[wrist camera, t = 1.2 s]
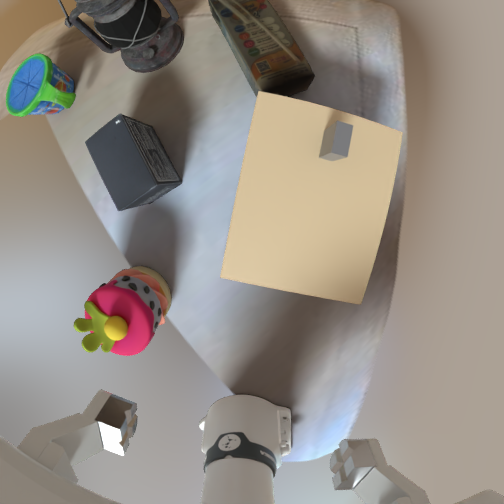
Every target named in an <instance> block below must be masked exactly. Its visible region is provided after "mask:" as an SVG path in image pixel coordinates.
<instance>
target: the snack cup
mask: <svg viewBox="0 0 504 504" xmlns="http://www.w3.org/2000/svg"><path fill="white" fill-rule="evenodd" d="M73 83H74V81H73V80H72V78H71V77H70V76H69V75H68V74H66V73H65V72H64V71H63V70H61V69H60V68H59V67H57V66H56V65H55V64H54V63H52V61H51V59H50V58H49V57H47V56H46V55H43V54H34V55H32V56H30V57H28V58H27V59H26V60H25V61H24V62H23V63H22V64H21V65H20V66H19V67H18V68H17V70H16V71H15V73H14V75H13V76H12V78H11V81H10V83H9V86H8V89H7V94H6V106H7V109H8V111H9V113H10V114H12V115H15V116H21V117H23V116H26V115H28V114H29V115H31V114H56V113H59V112H60V111H61V110H62V109H64V108H66V109H68V108H70V107H71V105H72V104H73V102H74V100H75V97H76V94H75V93H73V90H74V84H73Z"/></svg>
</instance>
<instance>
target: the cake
mask: <svg viewBox="0 0 504 504" xmlns="http://www.w3.org/2000/svg"><path fill="white" fill-rule="evenodd" d="M84 306H85V319H83V318H78V319H76V320H75V322H74V328H75V330H76V331H78V332H87V331H90V332H91V333H90V334H88V335H86V336H85V337H84V338H83V340H82V347H83V348H84V350H85V351H87V352H94V351H96V350H97V349H98V347H99V346H100V344H101V345H102V346H101V348H102V350H103V351H104V352H109V351H111V352H113V353H115V354H119V355H127V356H130V355H135V354H138V353H140V352H141V351H142V350H144V349H145V348H146V346H147V345H148V344H149V342H150V341H151V339H152V337H153V336H154V334H155V333H154V332H155V330H156V329H157V327H158V325H162V324H164V323H165V318H164V317H165V316H166V314H167V312H168V310H169V308H170V306H171V293H170V288H169V286H168V285H167V283H166V281H165V279H164V278H163V277H162V276H161V275H160V274H159V273H158V272H156V271H154V270H153V269H151V268H148V267H144V266H135V267H132V268H130V269H124V270H122V271H120V272H119V273H117V274H116V275H115V276H114V277H113V278H112V279H111V280H110V281H109V282H108V283H107V284H105V283H104V284H102V285H101V286H100V287H99V288H98V289H96V290H95V291H94V292H93V293H92V294H91V295H90V296H89V298H88V300H87V301H86V302H85V305H84Z"/></svg>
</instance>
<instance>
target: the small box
mask: <svg viewBox="0 0 504 504" xmlns="http://www.w3.org/2000/svg"><path fill="white" fill-rule="evenodd" d="M85 144H86V146H87V148H88V150H89V152H90V155H91V157H92V159H93V161H94V163H95V165H96V167H97V169H98V171H99V174H100V176H101V178H102V180H103V182H104V184H105V186H106V188H107V190H108V192H109V194H110V196H111V198H112V200H113V202H114V204H115V206H116V208H117V210H118V211H122V210H125V209H129V208H133V207H137V206H141V205H145V204H149V203H152V202H153V201H155V200H156V199H158V198H160V197H161V196H163V195H164V194H166V193H168V192H169V191H171V190H172V189H174V188H176V187H177V186H179V185H181V184H182V181H181V180H180V178H179V176H178V174H177V172H176V170H175V168H174V167H173V165H172V162H171V161H170V159H169V157H168V155H167V153H166V151H165V150H164V147H163V146H162V144H161V142H160V140H159V138H158V137H157V135H156V133H155V131H154V129H153V127H152V126H150V125H147V124H144V123H142V122H139V121H137V120H135V119H132V118H130V117H127V116H125V115H122V114H118V115H117V116H116V117H115V118H113V119H112V120H111V121H109V122H108V123H107V124H106V125H104V126H103V127H102V128H101V129H99V130H98V131H97V132H96V133H95V134H94V135H92V136H91V137H90V138H89V139H88V140H87V141H86V142H85Z"/></svg>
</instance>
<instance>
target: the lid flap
mask: <svg viewBox="0 0 504 504" xmlns="http://www.w3.org/2000/svg"><path fill="white" fill-rule="evenodd" d="M402 134H403V133H402V132H400V131H397V130H395V129H392V128H390V127H387V126H384V125H382V124H379V123H376V122H373V121H370V120H368V119H365V118H362V117H359V116H356V115H352V114H349V113H346V112H343V111H340V110H336V109H333V108H329V107H326V106H322V105H318V104H315V103H311V102H307V101H303V100H299V99H294V98H290V97H286V96H281V95H276V94H271V93H266V92H261V91H258V95H257V100H256V104H255V109H254V113H253V117H252V122H251V126H250V131H249V135H248V140H247V145H246V149H245V154H244V159H243V163H242V168H241V173H240V178H239V183H238V188H237V192H236V197H235V202H234V207H233V212H232V217H231V223H230V228H229V233H228V238H227V243H226V248H225V254H224V259H223V265H222V270H221V275H220V278H224V279H229V280H234V281H239V282H243V283H248V284H253V285H258V286H263V287H268V288H273V289H278V290H283V291H289V292H294V293H299V294H304V295H310V296H315V297H320V298H326V299H331V300H337V301H343V302H348V303H354V304H360V305H361V302H362V299H363V296H364V293H365V290H366V287H367V284H368V281H369V278H370V275H371V271H372V268H373V265H374V262H375V258H376V255H377V251H378V248H379V244H380V240H381V236H382V233H383V229H384V225H385V221H386V217H387V213H388V208H389V204H390V200H391V195H392V190H393V186H394V181H395V176H396V170H397V165H398V159H399V153H400V147H401V141H402Z"/></svg>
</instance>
